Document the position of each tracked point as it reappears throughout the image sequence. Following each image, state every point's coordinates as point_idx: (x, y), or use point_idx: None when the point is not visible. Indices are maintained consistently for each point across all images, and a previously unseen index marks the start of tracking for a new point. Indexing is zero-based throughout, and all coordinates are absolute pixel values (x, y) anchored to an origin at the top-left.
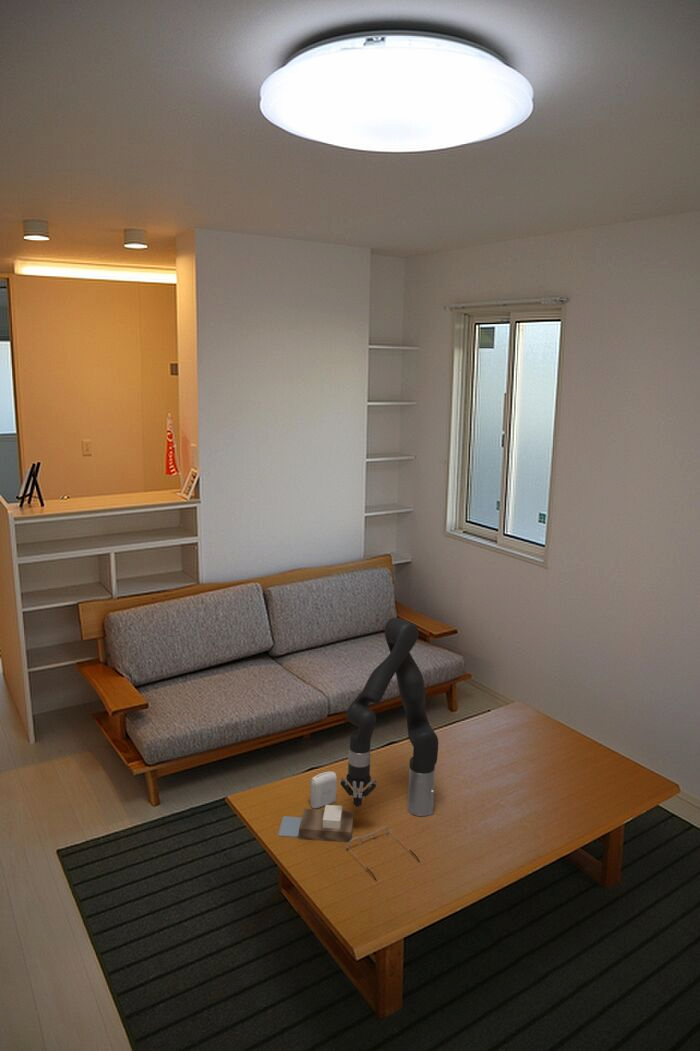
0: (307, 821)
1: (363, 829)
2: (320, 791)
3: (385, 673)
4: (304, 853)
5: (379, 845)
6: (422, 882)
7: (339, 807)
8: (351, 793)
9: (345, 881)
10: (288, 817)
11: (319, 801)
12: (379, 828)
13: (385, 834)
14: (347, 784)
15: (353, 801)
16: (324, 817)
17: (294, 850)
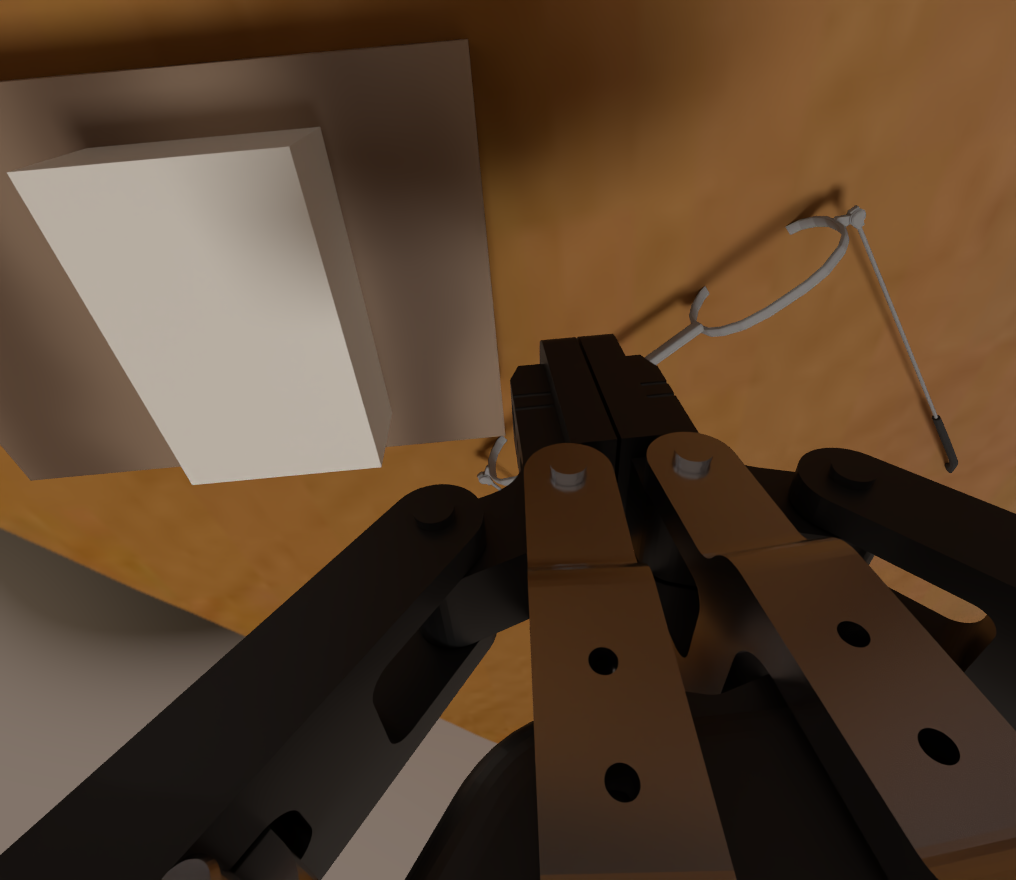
0: (16, 373)
1: (591, 179)
2: None
3: None
4: (224, 527)
5: (719, 369)
6: (893, 579)
7: (263, 206)
8: (488, 639)
9: (519, 633)
10: None
11: None
12: (772, 308)
13: (798, 225)
14: (308, 763)
15: (518, 466)
16: (184, 447)
17: (144, 518)
